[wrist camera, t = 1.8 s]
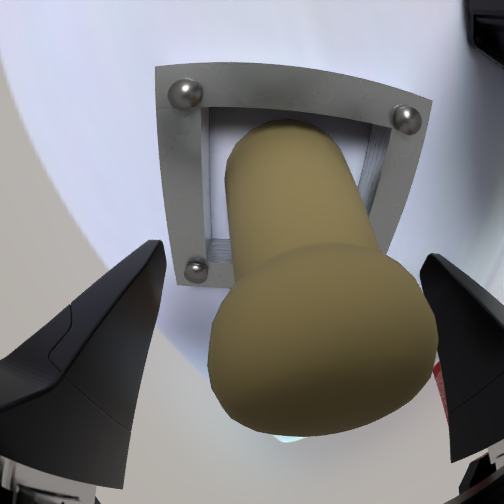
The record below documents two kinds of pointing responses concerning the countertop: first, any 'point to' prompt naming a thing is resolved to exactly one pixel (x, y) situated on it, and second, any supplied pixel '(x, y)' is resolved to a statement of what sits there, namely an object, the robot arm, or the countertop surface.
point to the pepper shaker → (311, 295)
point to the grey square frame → (282, 98)
